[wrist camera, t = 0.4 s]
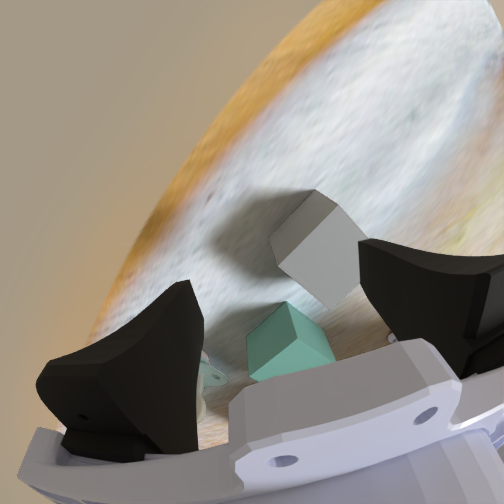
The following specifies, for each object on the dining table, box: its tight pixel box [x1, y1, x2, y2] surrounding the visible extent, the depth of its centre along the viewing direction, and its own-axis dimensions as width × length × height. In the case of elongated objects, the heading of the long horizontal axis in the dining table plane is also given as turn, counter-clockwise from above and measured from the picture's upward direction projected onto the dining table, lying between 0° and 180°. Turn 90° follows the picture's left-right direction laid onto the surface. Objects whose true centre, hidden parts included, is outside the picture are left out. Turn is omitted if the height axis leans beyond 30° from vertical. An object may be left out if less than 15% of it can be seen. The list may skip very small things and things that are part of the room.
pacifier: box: [196, 350, 228, 424], centre depth 23 cm, size 7×6×6 cm
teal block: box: [246, 301, 336, 382], centre depth 22 cm, size 5×5×5 cm
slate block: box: [268, 189, 368, 310], centre depth 19 cm, size 5×5×5 cm
